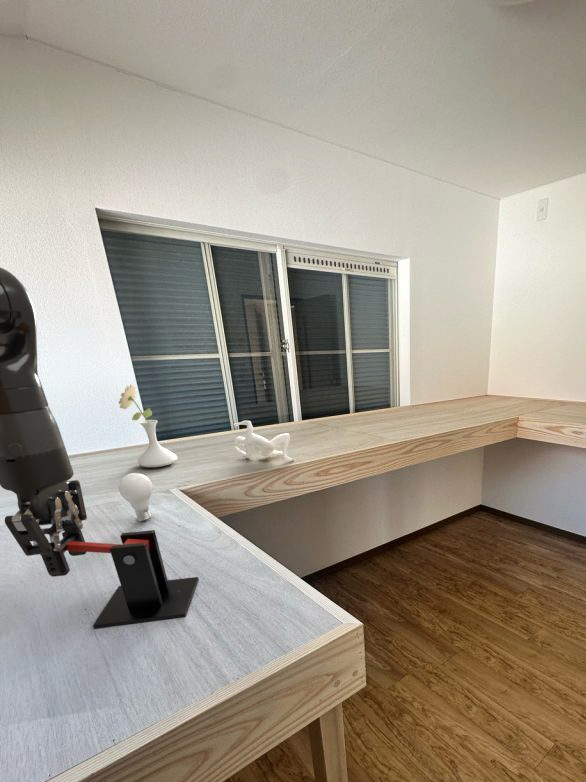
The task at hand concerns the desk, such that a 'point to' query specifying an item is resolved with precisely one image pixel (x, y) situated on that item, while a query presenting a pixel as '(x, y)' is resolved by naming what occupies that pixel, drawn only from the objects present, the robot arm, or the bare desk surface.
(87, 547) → the switch lever
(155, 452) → the flower in vase
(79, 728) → the desk surface
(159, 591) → the switch base
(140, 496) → the lightbulb
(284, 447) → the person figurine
